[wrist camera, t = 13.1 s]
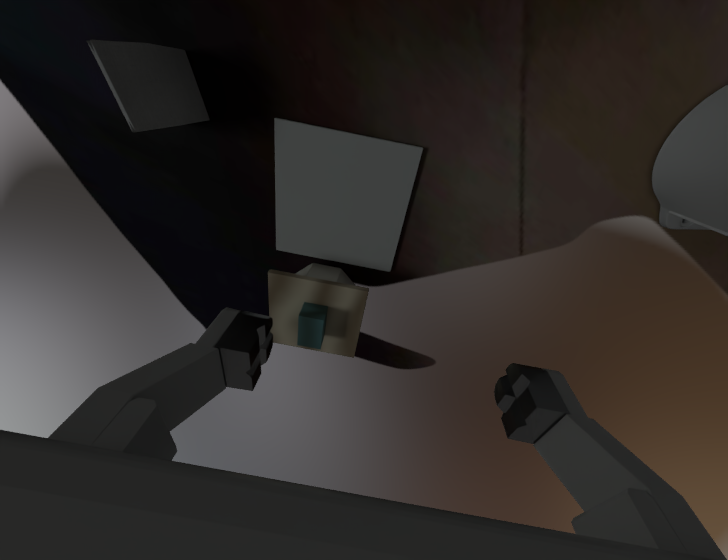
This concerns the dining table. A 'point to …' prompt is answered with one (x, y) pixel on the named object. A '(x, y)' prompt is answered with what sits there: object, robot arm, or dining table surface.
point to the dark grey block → (150, 84)
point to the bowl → (326, 273)
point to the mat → (341, 193)
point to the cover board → (319, 294)
